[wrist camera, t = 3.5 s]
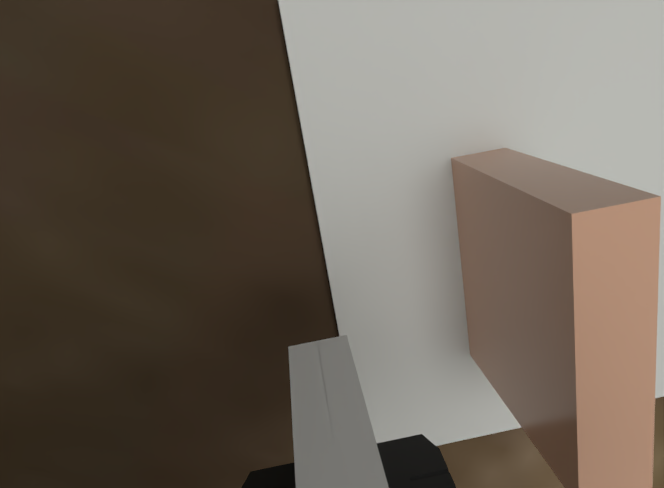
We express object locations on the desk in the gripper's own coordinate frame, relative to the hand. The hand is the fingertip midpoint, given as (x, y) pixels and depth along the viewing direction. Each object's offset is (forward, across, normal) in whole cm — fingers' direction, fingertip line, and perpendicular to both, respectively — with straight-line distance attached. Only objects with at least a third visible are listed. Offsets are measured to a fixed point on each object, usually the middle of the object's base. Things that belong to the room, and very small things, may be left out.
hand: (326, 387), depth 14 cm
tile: (+7, +7, 0) cm, 9 cm away
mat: (+7, +11, +1) cm, 13 cm away
